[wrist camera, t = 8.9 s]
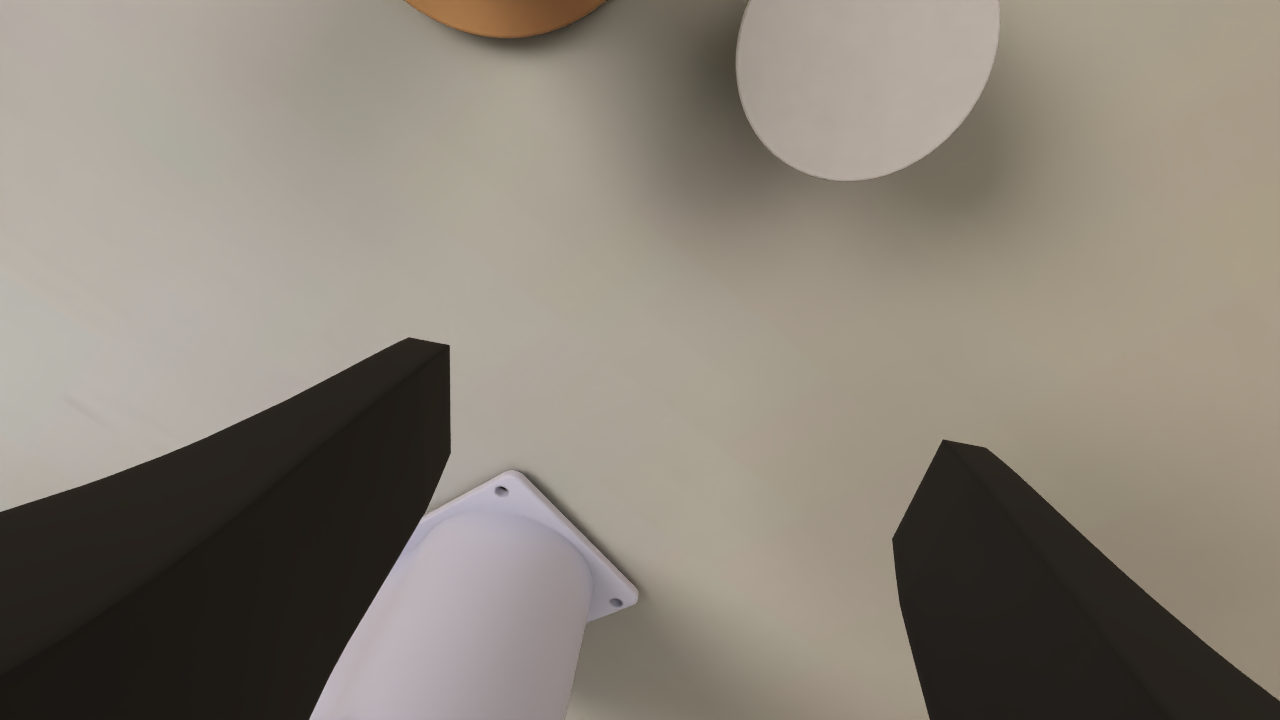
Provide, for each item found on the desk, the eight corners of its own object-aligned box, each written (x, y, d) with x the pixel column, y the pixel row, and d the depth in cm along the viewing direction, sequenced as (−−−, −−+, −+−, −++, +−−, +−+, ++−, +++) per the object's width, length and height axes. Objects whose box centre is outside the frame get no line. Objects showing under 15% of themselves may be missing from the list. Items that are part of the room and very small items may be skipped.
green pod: (795, 169, 18) (812, 225, 14) (697, 8, 16) (687, 25, 12) (970, 57, 16) (1041, 88, 12) (880, -138, 14) (932, -171, 10)
